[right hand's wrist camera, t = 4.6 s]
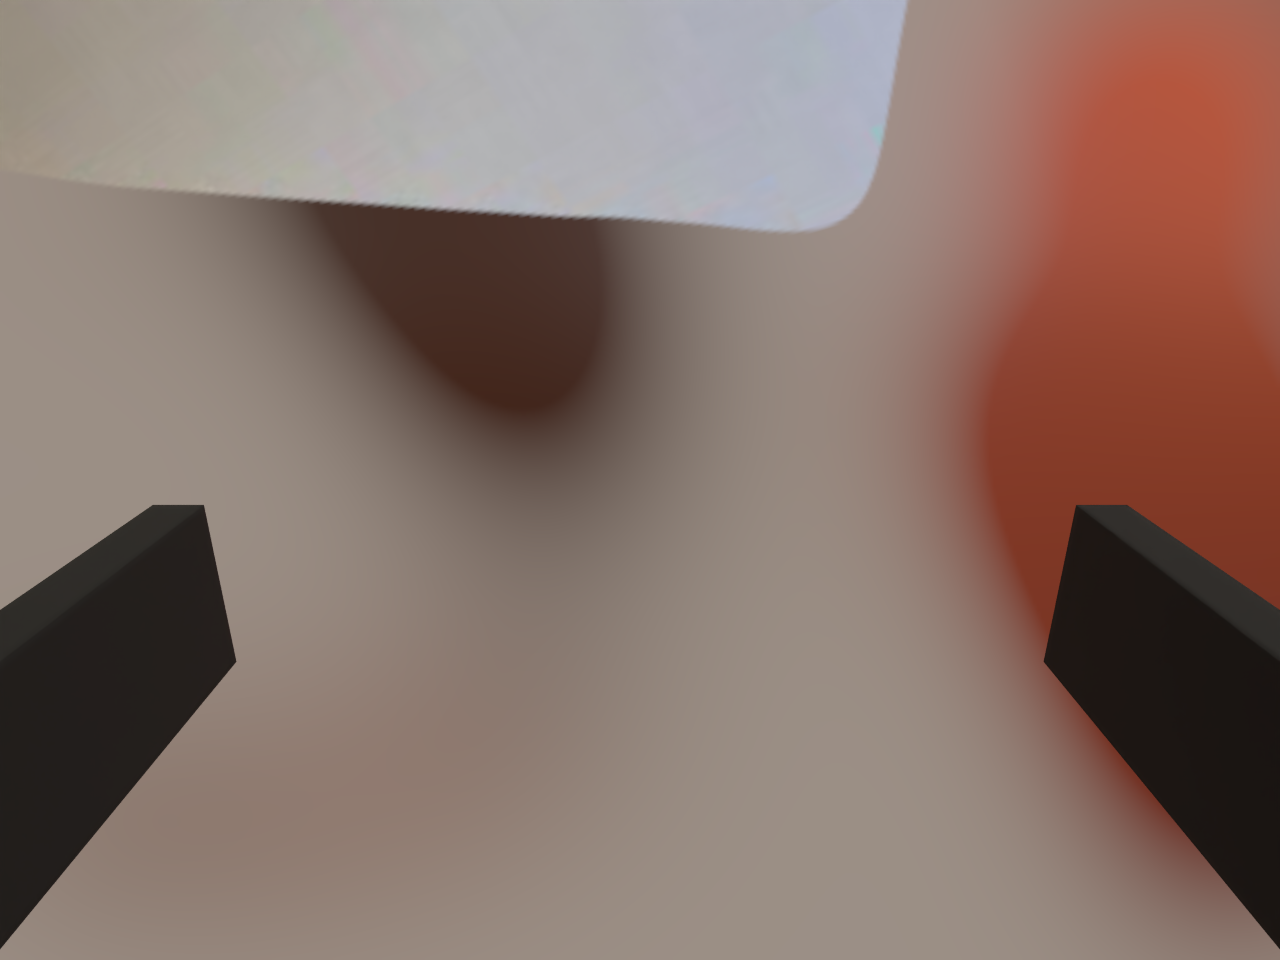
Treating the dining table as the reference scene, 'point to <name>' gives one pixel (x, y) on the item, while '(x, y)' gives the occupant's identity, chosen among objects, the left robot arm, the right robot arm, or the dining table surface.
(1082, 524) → the right robot arm
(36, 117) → the dining table surface
